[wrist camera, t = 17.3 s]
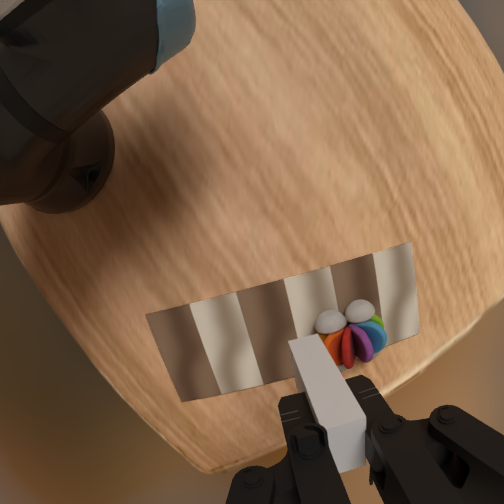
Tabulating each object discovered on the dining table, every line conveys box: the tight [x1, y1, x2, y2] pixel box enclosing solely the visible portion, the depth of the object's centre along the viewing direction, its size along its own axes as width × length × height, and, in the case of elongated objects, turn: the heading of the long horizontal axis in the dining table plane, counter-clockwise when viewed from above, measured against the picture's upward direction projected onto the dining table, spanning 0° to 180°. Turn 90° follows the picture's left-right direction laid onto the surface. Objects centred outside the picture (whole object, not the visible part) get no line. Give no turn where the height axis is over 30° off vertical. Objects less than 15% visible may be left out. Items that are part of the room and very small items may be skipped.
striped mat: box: [146, 242, 419, 402], centre depth 41 cm, size 36×14×1 cm, turn 105°
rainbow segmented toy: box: [315, 299, 387, 372], centre depth 38 cm, size 8×10×7 cm
